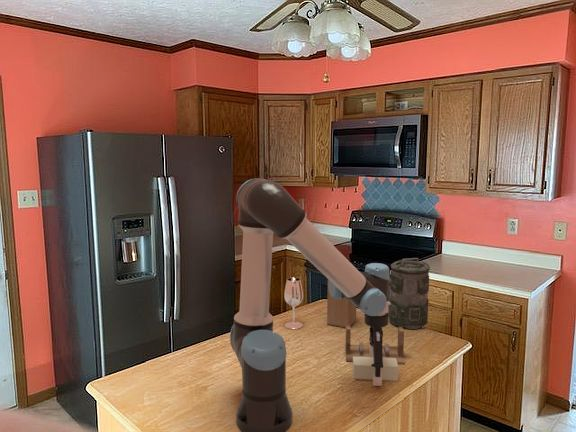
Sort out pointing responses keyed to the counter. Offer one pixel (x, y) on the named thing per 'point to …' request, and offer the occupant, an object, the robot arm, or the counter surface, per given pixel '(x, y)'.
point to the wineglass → (293, 299)
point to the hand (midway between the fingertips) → (375, 374)
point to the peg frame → (365, 349)
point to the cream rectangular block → (365, 370)
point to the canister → (409, 293)
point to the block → (340, 311)
